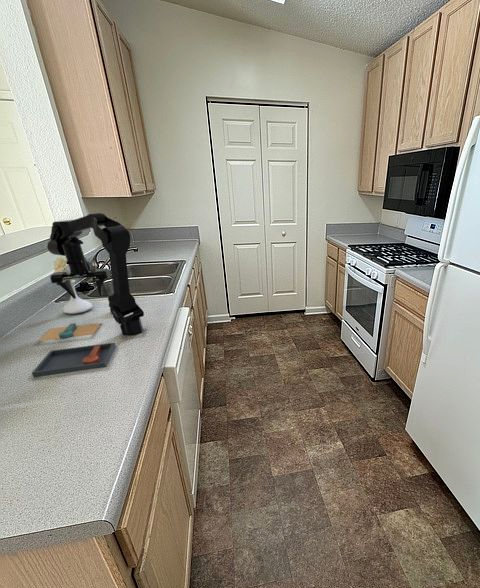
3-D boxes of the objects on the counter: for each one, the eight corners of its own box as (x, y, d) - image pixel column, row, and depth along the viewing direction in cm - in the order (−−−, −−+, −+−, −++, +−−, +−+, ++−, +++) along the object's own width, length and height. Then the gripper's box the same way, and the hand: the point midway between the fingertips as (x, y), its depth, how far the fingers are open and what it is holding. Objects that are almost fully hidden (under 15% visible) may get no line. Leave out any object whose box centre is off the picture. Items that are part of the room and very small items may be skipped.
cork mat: (100, 324, 135) (100, 323, 135) (91, 338, 123) (91, 337, 123) (50, 329, 131) (50, 329, 131) (36, 345, 119) (35, 344, 119)
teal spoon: (80, 327, 132) (79, 322, 131) (71, 338, 122) (69, 333, 122) (68, 328, 131) (66, 324, 130) (58, 340, 121) (56, 335, 121)
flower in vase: (61, 311, 150) (41, 255, 138) (90, 305, 156) (72, 251, 145) (67, 319, 141) (46, 260, 130) (97, 312, 148) (79, 255, 136)
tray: (116, 348, 116) (114, 342, 115) (106, 369, 103) (104, 362, 102) (52, 356, 111) (50, 350, 110) (34, 379, 99) (31, 372, 98)
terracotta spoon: (106, 350, 113) (104, 344, 112) (98, 365, 103) (96, 360, 103) (92, 351, 112) (90, 346, 111) (82, 368, 102) (80, 362, 101)
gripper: (108, 250, 131) (118, 288, 138) (54, 254, 126) (68, 293, 134) (100, 256, 121) (112, 297, 128) (42, 260, 117) (58, 302, 124)
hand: (88, 297), depth 129 cm, fingers open, 9 cm apart
